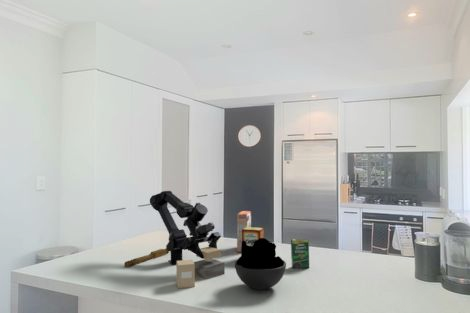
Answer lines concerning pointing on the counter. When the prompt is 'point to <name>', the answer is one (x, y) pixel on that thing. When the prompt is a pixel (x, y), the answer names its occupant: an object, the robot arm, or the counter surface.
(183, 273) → the box
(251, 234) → the baking soda box
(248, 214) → the cracker box
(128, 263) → the tap handle
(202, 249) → the box lid
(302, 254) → the coffee box
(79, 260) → the counter surface
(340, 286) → the counter surface
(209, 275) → the block
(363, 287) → the counter surface
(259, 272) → the coal bowl
